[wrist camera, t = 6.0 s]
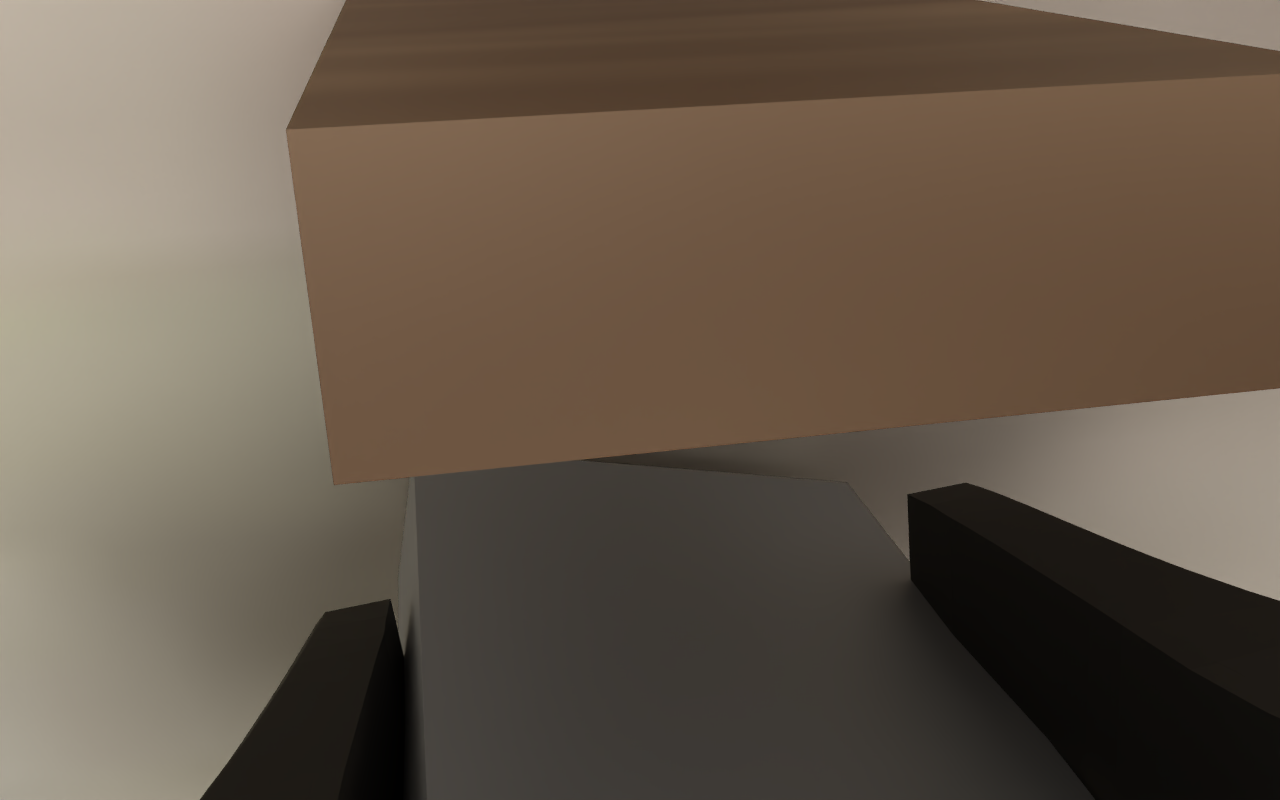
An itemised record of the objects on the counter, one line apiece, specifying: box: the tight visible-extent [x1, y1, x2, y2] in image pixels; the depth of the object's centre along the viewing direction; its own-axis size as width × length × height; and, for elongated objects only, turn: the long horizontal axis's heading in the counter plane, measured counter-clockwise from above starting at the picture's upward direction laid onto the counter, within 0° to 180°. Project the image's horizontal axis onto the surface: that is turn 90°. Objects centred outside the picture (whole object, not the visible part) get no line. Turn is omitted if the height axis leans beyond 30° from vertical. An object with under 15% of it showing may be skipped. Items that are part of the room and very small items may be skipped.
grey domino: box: [398, 460, 1095, 800], centre depth 10 cm, size 2×5×8 cm, turn 80°
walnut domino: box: [286, 0, 1280, 485], centre depth 9 cm, size 2×5×8 cm, turn 91°
